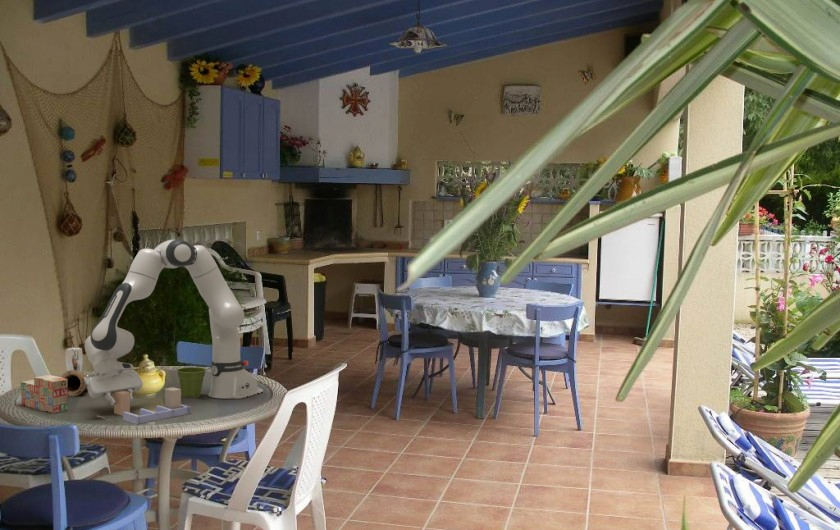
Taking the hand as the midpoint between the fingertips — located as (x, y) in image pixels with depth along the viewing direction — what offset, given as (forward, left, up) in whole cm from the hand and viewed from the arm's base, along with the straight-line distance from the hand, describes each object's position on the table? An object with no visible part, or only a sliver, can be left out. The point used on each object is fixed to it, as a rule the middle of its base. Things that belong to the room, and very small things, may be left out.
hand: (122, 402), depth 328 cm
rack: (-7, +12, -5) cm, 15 cm away
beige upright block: (-13, +12, -4) cm, 18 cm away
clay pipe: (-9, -47, -6) cm, 48 cm away
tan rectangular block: (0, -1, -5) cm, 5 cm away
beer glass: (-16, -66, -5) cm, 68 cm away
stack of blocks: (+14, -33, -6) cm, 36 cm away
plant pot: (-36, -9, -6) cm, 37 cm away
